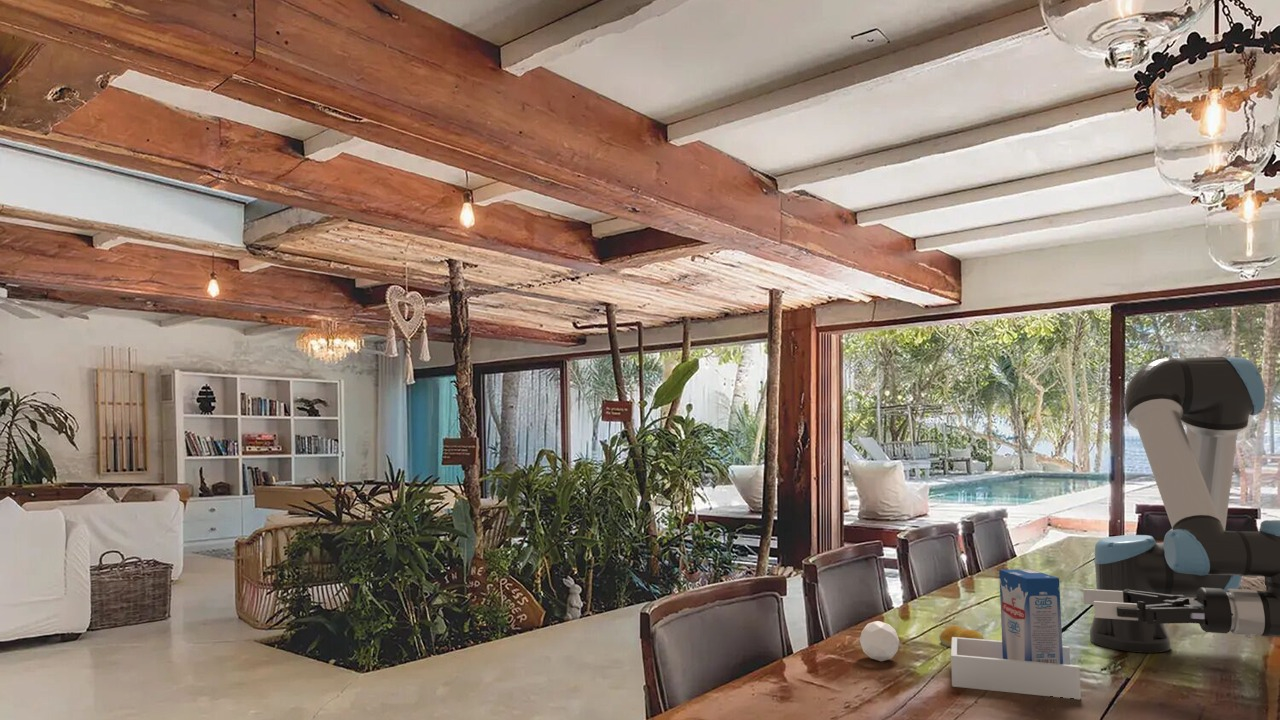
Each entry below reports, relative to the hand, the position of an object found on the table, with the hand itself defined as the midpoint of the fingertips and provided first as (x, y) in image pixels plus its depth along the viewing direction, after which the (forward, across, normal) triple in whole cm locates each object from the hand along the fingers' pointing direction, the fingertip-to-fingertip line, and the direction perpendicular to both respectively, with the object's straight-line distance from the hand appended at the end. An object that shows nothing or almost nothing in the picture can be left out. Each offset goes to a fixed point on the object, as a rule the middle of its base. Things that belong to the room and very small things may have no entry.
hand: (1088, 602), depth 150 cm
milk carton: (+10, +1, -16) cm, 18 cm away
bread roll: (+22, +26, -15) cm, 38 cm away
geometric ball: (+38, +7, -15) cm, 41 cm away
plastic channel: (+13, +1, -15) cm, 20 cm away
